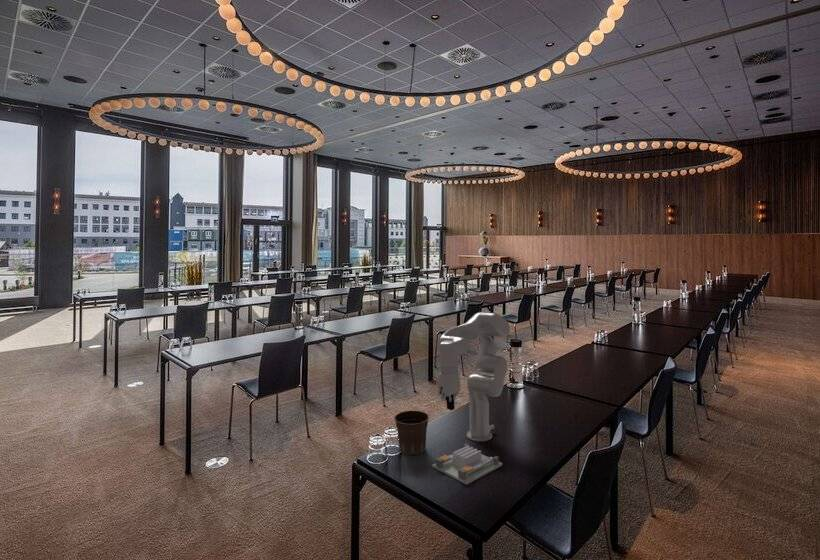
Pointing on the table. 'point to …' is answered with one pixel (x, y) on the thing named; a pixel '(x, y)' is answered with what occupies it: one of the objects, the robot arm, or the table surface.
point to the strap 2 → (477, 465)
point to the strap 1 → (446, 458)
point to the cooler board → (469, 476)
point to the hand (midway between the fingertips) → (450, 408)
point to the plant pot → (412, 431)
